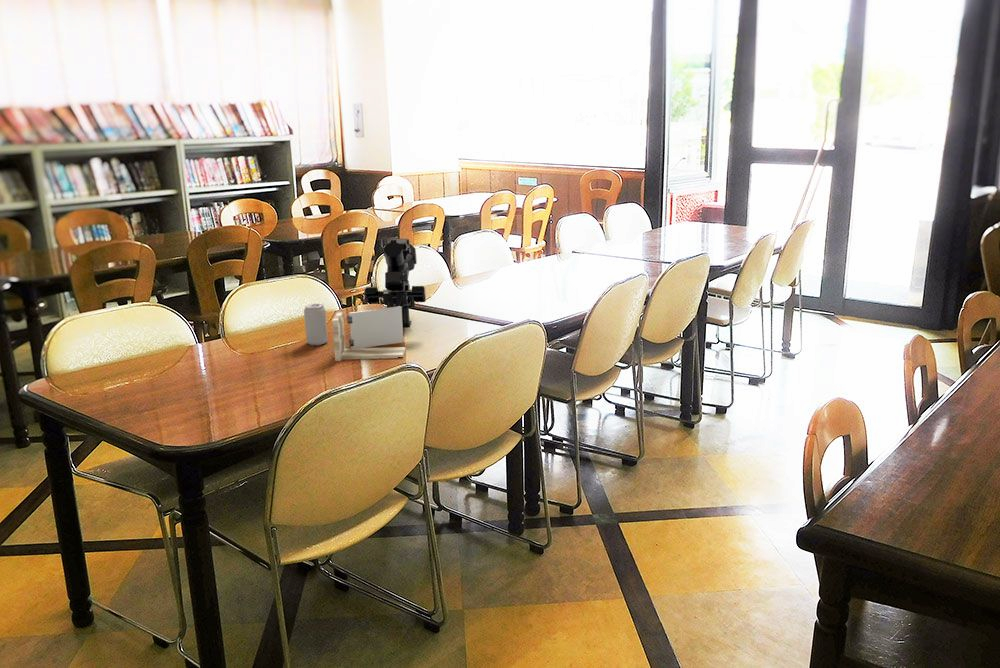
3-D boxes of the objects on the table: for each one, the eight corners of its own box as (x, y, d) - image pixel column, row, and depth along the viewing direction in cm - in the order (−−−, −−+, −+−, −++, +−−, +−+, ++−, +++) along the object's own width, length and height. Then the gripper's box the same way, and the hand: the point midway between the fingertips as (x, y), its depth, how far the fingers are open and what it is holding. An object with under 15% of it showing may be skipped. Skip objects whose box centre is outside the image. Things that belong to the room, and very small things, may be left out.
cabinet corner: (340, 351, 238) (337, 312, 235) (405, 349, 239) (403, 310, 236) (335, 361, 229) (332, 320, 225) (402, 359, 229) (400, 318, 226)
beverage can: (330, 340, 250) (327, 303, 247) (324, 346, 244) (321, 307, 241) (310, 340, 251) (307, 302, 247) (303, 346, 244) (300, 307, 241)
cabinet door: (348, 348, 239) (346, 312, 236) (401, 340, 246) (400, 306, 243) (350, 349, 238) (347, 313, 235) (403, 342, 245) (401, 307, 242)
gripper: (363, 261, 248) (360, 304, 240) (423, 260, 248) (422, 302, 240) (367, 281, 257) (365, 323, 249) (426, 280, 258) (425, 322, 250)
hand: (394, 317), depth 247 cm, fingers closed
